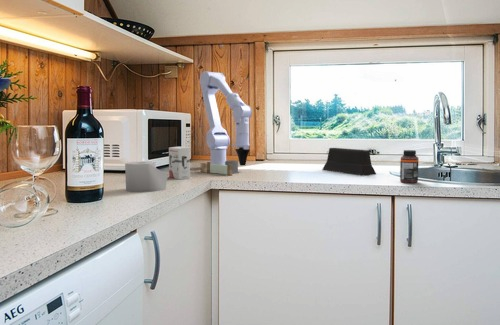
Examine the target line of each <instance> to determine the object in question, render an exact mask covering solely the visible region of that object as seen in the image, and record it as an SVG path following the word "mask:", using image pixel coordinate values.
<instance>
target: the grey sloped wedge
mask: <svg viewBox="0 0 500 325" xmlns="http://www.w3.org/2000/svg"><path fill="white" fill-rule="evenodd" d="M124 167H125V168H124V170H125V191H126V192H130V193H146V192H148V193H149V192H158V191H159V192H160V191H166V188H167V182H168V178H169V174H168V173H167V172H165V171H163V170H160V169H159V168H157V162H155V161H130V162H129V161H128V162H125V163H124Z"/></svg>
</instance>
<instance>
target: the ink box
mask: <svg viewBox="0 0 500 325" xmlns="http://www.w3.org/2000/svg"><path fill="white" fill-rule="evenodd" d="M190 150H191V149H190V147H189V146H172V147H168V168H169V169H168V170H169V172H168V173H169V174H168V178H171V179H175V180H176V179H177V180H185V179H187V180H188V179H191V168H190V167H191V164H190V162H191V161H190V160H191V159H190V158H191V154H190Z"/></svg>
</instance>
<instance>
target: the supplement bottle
mask: <svg viewBox="0 0 500 325" xmlns="http://www.w3.org/2000/svg"><path fill="white" fill-rule="evenodd" d="M416 153H417V150H415V149H404V150H403V154H402V156H401V157H400V171H399V180H400V182H401V183H404V184H416V183H418V181H419V157H418V156H417V155H416Z"/></svg>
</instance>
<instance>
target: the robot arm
mask: <svg viewBox="0 0 500 325" xmlns="http://www.w3.org/2000/svg"><path fill="white" fill-rule="evenodd" d="M199 83H200V87H201V92H202V97H203V104H204V108H205V113H206V117H207V121H208V125H209V130H207V132H206V134H205V136H206V146H207V147H208V149H209V150H210V154H209V156H210V157H209V158H210V162H211V164H218V165H225V161H227V150H228V147H229V146H230V144H231V139H230V136H229V135H228V132H227V130H226V129H225V128H224V127H222V122H221V118H220V113H219V109H218V104H217V100H216V99H217V98H216V94H217V92H219V91H220V92H221V93H222V94H223V96H224V97H225V103H226V104H227V105H228V106H229V108H230V109H231V111H232V116H233V118H234V124H235V143H232V146H233V147H236V148H235V149H234V150H235V153H236V155H237V157H238V164H239V166H242V167H243V166H246V165H247V159H248V155H249V153H250V151H251V150H250V147H249V146H251V145H250V118H251V117H252V114H253V110H252V108H251V106H250V105H249V104H246V103H245V102H244V101H243V100H242V99H241V97H240V94H239V93H237V92H233V91H232V89H231V88H230V86H229V85H228V83H227V82H226V76H224V73H222V72H216V71H214V72H213V71H207V70H205V71H203V72H202V73H201V75H200V77H199Z"/></svg>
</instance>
